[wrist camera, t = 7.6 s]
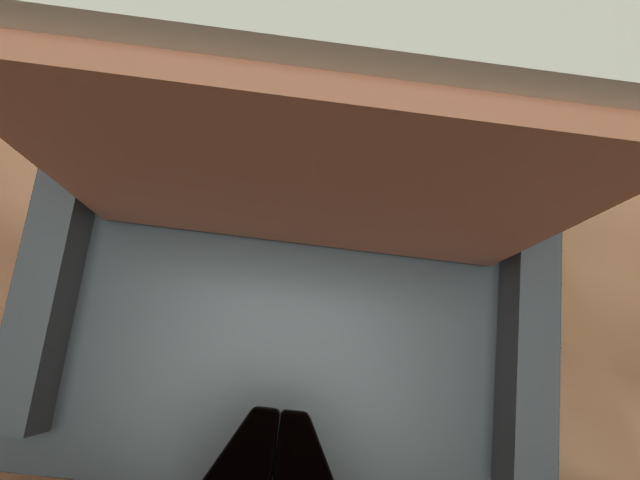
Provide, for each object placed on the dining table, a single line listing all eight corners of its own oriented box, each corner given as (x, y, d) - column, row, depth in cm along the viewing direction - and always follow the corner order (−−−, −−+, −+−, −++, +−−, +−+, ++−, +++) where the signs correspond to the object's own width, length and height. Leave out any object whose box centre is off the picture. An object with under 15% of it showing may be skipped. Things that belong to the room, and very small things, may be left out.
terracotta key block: (490, 266, 15) (766, 132, 6) (103, 219, 14) (-159, 12, 6) (499, 58, 16) (736, -283, 8) (145, 11, 16) (-19, -398, 7)
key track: (521, 517, 14) (566, 547, 12) (9, 462, 14) (-47, 482, 12) (536, -23, 18) (573, -81, 16) (128, -79, 18) (104, -147, 15)
